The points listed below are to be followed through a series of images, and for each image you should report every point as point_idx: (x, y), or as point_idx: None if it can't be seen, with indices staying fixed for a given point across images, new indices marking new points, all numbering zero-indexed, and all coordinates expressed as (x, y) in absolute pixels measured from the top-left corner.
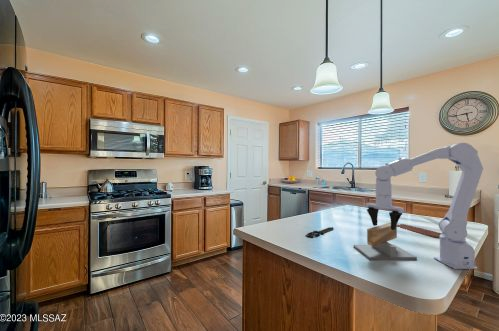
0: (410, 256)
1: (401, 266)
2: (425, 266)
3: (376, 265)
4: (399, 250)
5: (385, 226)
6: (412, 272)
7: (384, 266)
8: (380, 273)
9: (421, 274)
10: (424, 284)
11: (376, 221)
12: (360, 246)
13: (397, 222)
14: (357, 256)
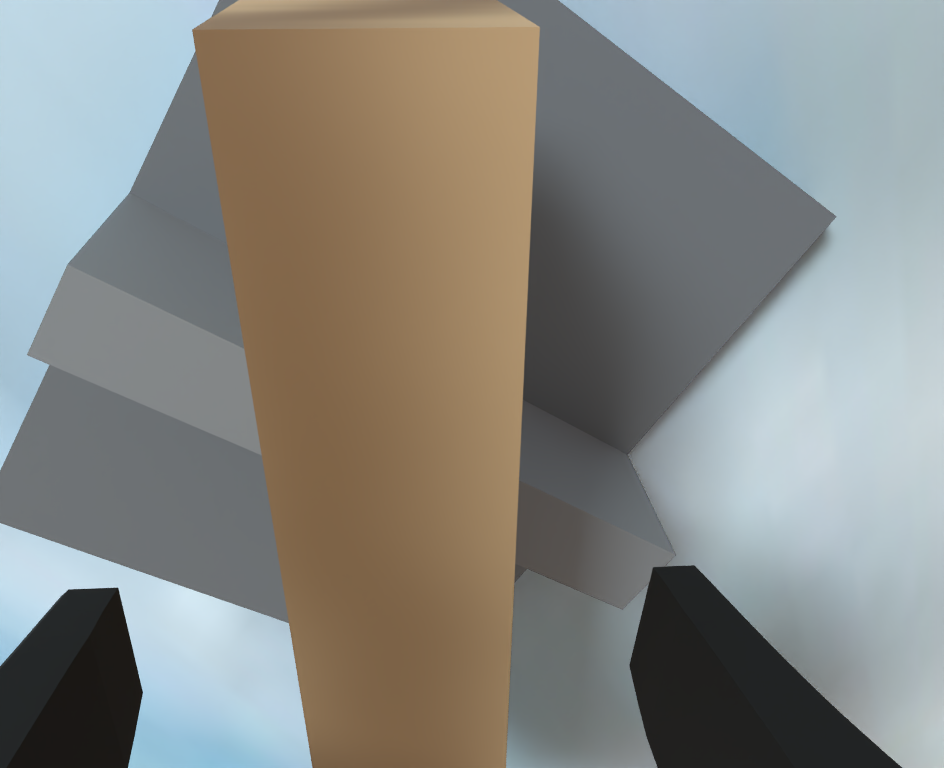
0: (761, 271)
1: (718, 540)
2: (922, 341)
3: (542, 689)
4: (558, 143)
5: (465, 686)
6: (828, 575)
7: (601, 655)
8: (635, 763)
9: (897, 552)
10: (925, 674)
11: (80, 719)
12: (93, 491)
13: (848, 722)
14: (293, 672)
